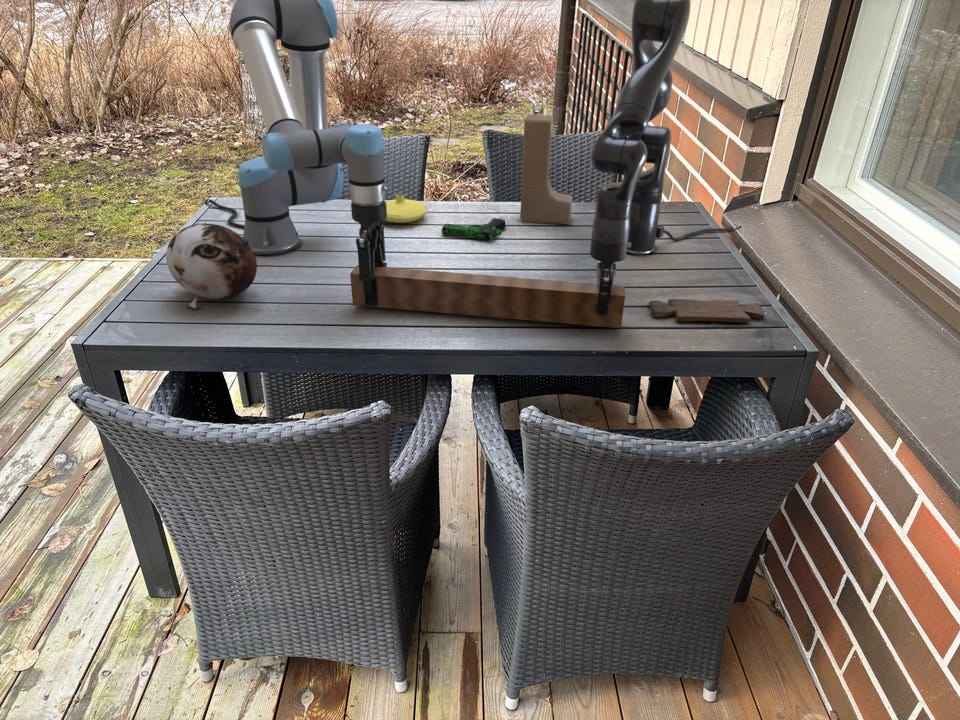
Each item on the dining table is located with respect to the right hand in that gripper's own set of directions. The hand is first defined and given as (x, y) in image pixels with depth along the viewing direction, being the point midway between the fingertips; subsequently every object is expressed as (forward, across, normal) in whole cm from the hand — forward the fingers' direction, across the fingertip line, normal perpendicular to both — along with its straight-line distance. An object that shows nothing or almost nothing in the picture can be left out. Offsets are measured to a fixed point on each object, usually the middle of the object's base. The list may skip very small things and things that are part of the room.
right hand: (601, 308), depth 157 cm
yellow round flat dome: (+5, +58, +61) cm, 84 cm away
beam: (+3, 0, +26) cm, 26 cm away
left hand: (+2, 0, +52) cm, 52 cm away
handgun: (+5, +52, +36) cm, 64 cm away
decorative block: (+5, +66, +18) cm, 69 cm away
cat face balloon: (+4, -2, +90) cm, 90 cm away
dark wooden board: (+4, +10, -24) cm, 27 cm away
